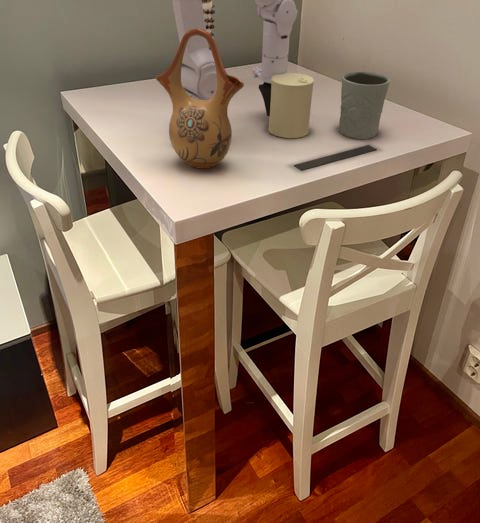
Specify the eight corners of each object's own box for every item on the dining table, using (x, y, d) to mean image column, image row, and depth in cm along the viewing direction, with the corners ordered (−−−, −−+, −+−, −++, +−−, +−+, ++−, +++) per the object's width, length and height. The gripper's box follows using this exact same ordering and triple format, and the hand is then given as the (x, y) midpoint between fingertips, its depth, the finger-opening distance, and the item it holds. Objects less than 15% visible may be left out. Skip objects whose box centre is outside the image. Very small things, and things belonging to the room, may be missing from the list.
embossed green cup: (346, 141, 112) (354, 86, 105) (327, 125, 120) (334, 72, 113) (388, 137, 115) (399, 83, 108) (367, 121, 123) (376, 69, 116)
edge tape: (301, 170, 101) (301, 169, 100) (293, 165, 102) (293, 164, 102) (376, 149, 109) (376, 149, 109) (368, 145, 111) (368, 144, 111)
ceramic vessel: (247, 160, 104) (251, 26, 89) (235, 180, 97) (238, 37, 82) (169, 150, 107) (161, 19, 92) (153, 168, 100) (141, 29, 85)
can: (294, 141, 112) (299, 86, 105) (260, 131, 116) (262, 76, 109) (316, 129, 118) (322, 75, 111) (282, 119, 122) (286, 67, 115)
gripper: (310, 60, 110) (304, 122, 118) (271, 45, 120) (268, 103, 128) (283, 65, 107) (279, 128, 115) (245, 49, 117) (243, 108, 125)
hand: (271, 115), depth 121 cm, fingers closed
